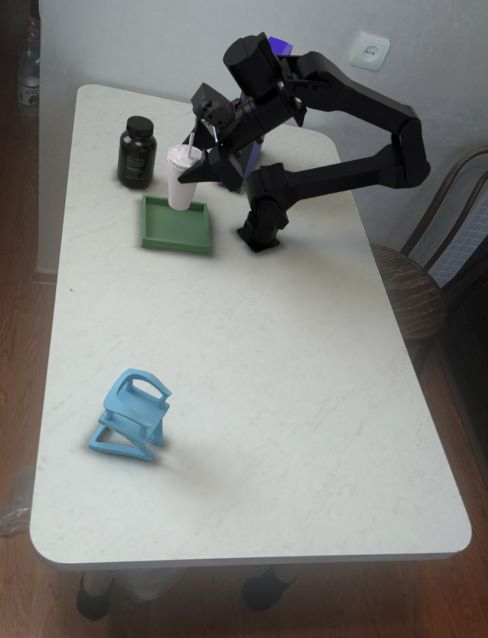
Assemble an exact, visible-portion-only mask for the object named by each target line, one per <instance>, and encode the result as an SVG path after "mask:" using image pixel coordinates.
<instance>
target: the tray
mask: <svg viewBox="0 0 488 638" xmlns="http://www.w3.org/2000/svg"><path fill="white" fill-rule="evenodd" d="M168 198H169V197H164V196H157V195H151V194H145V193H143V194H142V196H141V213H140V214H141V225H140V227H141V228H140V229H141V231H140V248H145V249H153V250H161V251H168V252H169V251H170V252H177V253H187V254H188V253H189V254H194V255H195V254H196V255H204V256H210V253H211V250H212V241H211V239H212V238H211V231H210V220H209V209H208V203H207V202H200V201H193V200H191V203H190V206H189V208H188V209H187V210H184V211H179V210H175V209H173V208H172V207H171V206H170V205H169V203H168Z"/></svg>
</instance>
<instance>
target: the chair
mask: <svg viewBox="0 0 488 638" xmlns="http://www.w3.org/2000/svg"><path fill="white" fill-rule="evenodd" d="M135 380H138V381H142V382H146V383H148V384H150V385H151V386H153V387H154V388H155V389H156V390H157V391H158V392H159V393H160V394H161V395H162V396H161V397H160V398H159V397H157V396H155V395H152V394H151V393H148V392H147V391H144V390H143V389H141V388H139V387H137V386H135V385H134V381H135ZM172 395H173V391H171V390H170V389H169V388H167V387H166V386H165V384H164V383H162V381H161V380H160V379H159V378H158V377H157V376H155V375H154V374H153V373H151V372H149V371H146V370H142V369H136V368H127V369H126V370H125V371H123V372H122V373H121V374H120V375H119V377H118V378H117V379H116V380H115V381H114V383H113V385H112V386H111V387H110V389H109V391H108V392H107V393H106V396H105V397H104V399H103V402H102V405H103V408H104V409H105V410H104V411H103V412H102V414H101V415H100V416H99V418H98V422H97V423H99V424H101V425H100V426H99V427H98V429H97V430H96V431H95V433H94V434H93V435H92V437H90V440H89V441H88V447H89V449H92V450H95V451H98V452H103V453H104V452H105V453H108V454H109V453H110V454H115V455H121V456H126V457H131V458H137V459H140V460H145V461H148V462H152V461H154V458H155V454H154V452H153V451H152V450H150V448H148V447H147V443H148V442H149V441H150V442H151V443H153V445H155V446H157V447H162V446H163V445H164V432H163V419H164V417H165V415H166V414H167V412H168V411H169V409H170V407H171V403H169V402H167V400H168V398H169V397H170V396H172ZM107 428H109V429H111V430H112V431H114V432H116V433H117V434H119V435H121V436H122V437H124V438H125V439H126V440H127V441H129V442H130V443H131V444H132V445H133V446H127V445H122V444H121V445H119V444H115V443H114V444H113V443H106V442H99V439H100V437H101V436H102V435H103V433H104V432H105V430H106V429H107Z"/></svg>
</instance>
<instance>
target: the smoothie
mask: <svg viewBox="0 0 488 638" xmlns="http://www.w3.org/2000/svg"><path fill="white" fill-rule="evenodd" d="M190 133H191V132H190ZM193 139H194V133H191V135H190V141H189V145H183V144H182V143H181V144H175V145H173V146H171V147H170V148H168V151H167V155H166V159H167V162H168V197H167V198H168V203H169V205H170V206H171V207H172V208H173V209H175V210H179V211H184V210H187V209H188V208H189V206H190V203H191V201H193V197H194V194H195V192H196V189H197V186H198V184H199V183H187V184H180V183H179V181H178V180H177V178H178V177H179V176H180V175H181V174H182V173H183V172H185V171H186V170H187V169H188V168H190V167H191V166H192V165H193V164H195V163H196V162H197V161H199V160H200V159H201V156H202V151H201V150H199V149H198V148H196V147H193V146H192V144H193Z"/></svg>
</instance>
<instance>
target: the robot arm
mask: <svg viewBox="0 0 488 638" xmlns="http://www.w3.org/2000/svg"><path fill="white" fill-rule="evenodd" d="M268 39H269V37H268V36H267V34H266V32H264V31H261V32H260V33H258V34H257V35H254V34H250V35H246V36H244V37H239V38H237V39H236V40H235V41H233V42H232V44H230V45H229V47H228V48H227V49H226V50H225V52H224V54H223V57H222V62H223V64H224V66H225V68H226V69H227V71H228V73H230V75H231V77H232V78H233V80H234V82H235V83H236V84H237V86H238V88H239V89H240V92H241V91H242V92H243V94H244V95H245V96H250V97H251V98H249V99H248V100H246V101H245V102H244V101H243V100H242V98H241V97H240V96H239V97H236V98H235V99H232V100H231V101H230V100H229V99H228V98H227V97H226V96H225V95H223V94H222V93H220V92H219V91H218V90H216V89H215V88H214V87H212V86H211V85H209V84H207V83H206V82H202V83H201V84H200V86H199V87H198V88H197V89H196V91H195V93H194V94H193V95H192V97H191V99H190V103H191V104H192V113H193V114H194V115H195V121H194V123H195V124H194V127H193V128H192V130H191V131H190V132H189V134H188V135H187V137H186V138H185V139H184V140H183V141H182V143H181V144H183V145H189V141H190V135H191V133H194V139H193V144H192V146H193V147H196V148H198V149H199V150H201V151H202V156H201V159H200V160H199V161H197V162H196V163H195V164H193V165H192V166H191V167H190V168H188V169H187V170H186V171H185V172H183V173H182V174H181V175H180V176H179V177H178V178H177V180H178V181H179V183H180V184H187V183H198V184H199V183H218V182H222V183H223V184H224V185H225V186H226V187H227V188H226V189H227V190H228V191H229V192H230V193H233V192H234V191H235V190H237V189H238V188H240V187H242V188H243V186H242V184H243V181H244V178H243V174H242V170H241V166H240V165H239V163H238V162H237V161H236V159H238V158H240V157H241V156H242V154H241V150H242V149H243V148H245V147H246V146H248V145H250V144H251V143H253V142H254V141H256V142H257V144H258V145H260V144H262V143H263V144H264V143H265V141H264V140H265V139H264V140H263V137H262V136H264V135H265V136H266V135H267V134H268V133H270V132H272V131H274V130H275V129H277V128H278V127H280V126H281V125H283V124H285V123H286V122H288V121H289V120H291V119H293V120H294V121H295V123H296V125H297V127H299V128H303V126H304V122H305V118H306V115H307V113H308V109H310V110H314V111H320V112H324V113H331V112H341V113H345V114H347V115H350V116H352V117H354V118H356V119H359V120H361V121H363V122H365V123H368V124H370V125H371V126H372V125H373V126H375V127H377V128H380V129H382V130H384V131H386V132H388V133H390V135H389V136H390V137H389V138H390V143H388V144H385V145H384V146H383V147H382V148H381V149H379V150H378V151H377V152H376V153H375V154H373V155H371V156H367V157H366V156H365V157H361V158H357V159H352V160H348V161H342V162H336V163H331V164H328V165H327V164H326V165H322V166H318V167H313V168H308V169H304V170H303V169H302V170H298V171H291V170H287V169H286V168H285V165H284V163H283V162H281V161H280V162H278V161H277V162H275V163H272V164H267V165H264V164H263V165H262V164H260V165H259V168H256V169H254V170H251V171H250V173H249V175H248V176H247V178H246V180H245V182H244V184H243V185H244V188H245V193H246V197H247V201H248V205H249V208H250V210H249V211H248V213H247V216H246V219H245V220H244V223H243V225H242V227H239V228H237V229H236V231H235V232H236V234H237V235H238V236H239V238H240V239H241V240H242V241H243V242H244V243H245V244H246V245H247V246H248V248H249V249H250V250H251V251H252V252H253V253H255V254H257V253H261V252H264V251H268V250H270V249H273V248H277V247H279V246H280V245H281V242H280V240H279V239H277V235H278V233H279V231H282V230H284V229H285V228H286V227H287V226H288V224H290V219H289V216H288V213H287V211H289V210H290V209H291V208H292V207H293V206H294V205H296V204H297V203H298V202H300V201H304V200H309V199H314V198H319V197H323V196H328V195H332V194H338V193H344V192H348V191H353V190H357V189H362V188H367V187H372V186H376V185H377V186H378V185H379V186H382V187H386V188H388V189H389V188H390V189H393V190H404V189H405V190H406V189H414V188H418V187H419V186H422V185H423V183H424V182H425V181H426V180H427V178H428V177H429V176H430V174H431V171H432V165H431V164H430V161H429V160H428V158H427V153H426V147H425V144H424V138H423V127H422V124H423V123H422V120H421V119H420V117H419V115H418V114H417V112H416V110H415V109H414V107H412V106H411V105H409V104H403V103H401V102H399V101H397V100H395V99H393V98H391V97H388V96H386V95H384V94H382V93H380V92H378V91H376V90H374V89H372V88H370V87H367V86H365V84H361V83H359V82H358V81H355V80H353V79H352V78H350V77H349V76H347V74H346V73H344V71H342V70H341V69H340V68H339V67H338V66H337V64H335V63H334V62H333V61H331V60H330V59H329V58H327V57H326V56H325V55H324V54H322V53H321V52H320V51H316V50H310V51H308V52H307V53H304V54H302V55H300V54H299V55H298V54H290V55H275V53H274V52H273V50H272V48H271V45H270V43H269V40H268ZM280 81H282V83H281V84H280V83H279V82H280ZM299 100H300V101H299ZM263 144H262V145H263ZM208 150H210V151H208ZM232 153H233V155H234V156H235V158H236V159H235V158H234V157H233V155H232Z"/></svg>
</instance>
